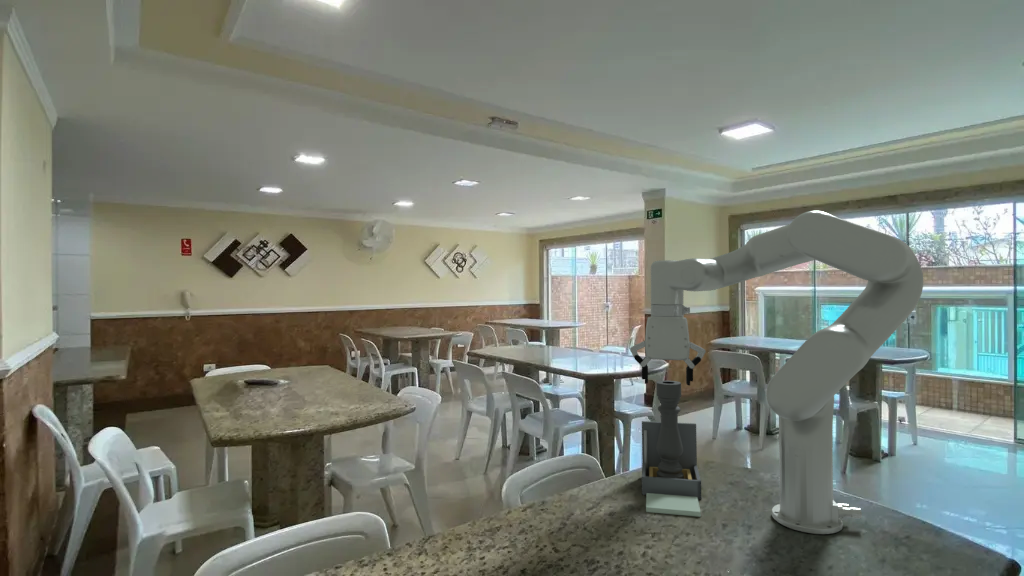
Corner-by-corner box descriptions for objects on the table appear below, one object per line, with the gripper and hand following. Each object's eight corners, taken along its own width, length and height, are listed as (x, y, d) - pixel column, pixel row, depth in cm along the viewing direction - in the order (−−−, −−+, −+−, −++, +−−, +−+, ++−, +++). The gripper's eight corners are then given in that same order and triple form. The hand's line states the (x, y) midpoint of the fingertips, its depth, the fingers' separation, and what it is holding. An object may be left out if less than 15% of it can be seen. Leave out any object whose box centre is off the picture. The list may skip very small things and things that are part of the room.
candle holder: (688, 486, 127) (686, 382, 127) (676, 494, 122) (674, 386, 122) (664, 480, 131) (663, 379, 131) (652, 487, 127) (650, 383, 127)
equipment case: (696, 480, 131) (695, 423, 131) (701, 499, 119) (700, 437, 119) (642, 476, 134) (641, 421, 134) (642, 494, 123) (641, 433, 123)
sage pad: (697, 501, 118) (697, 497, 118) (700, 516, 110) (700, 511, 110) (646, 497, 121) (646, 492, 121) (646, 511, 113) (646, 507, 113)
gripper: (703, 311, 128) (703, 382, 128) (630, 310, 133) (630, 379, 133) (707, 313, 121) (707, 388, 121) (629, 312, 125) (629, 384, 126)
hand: (667, 383), depth 127 cm, fingers open, 9 cm apart
